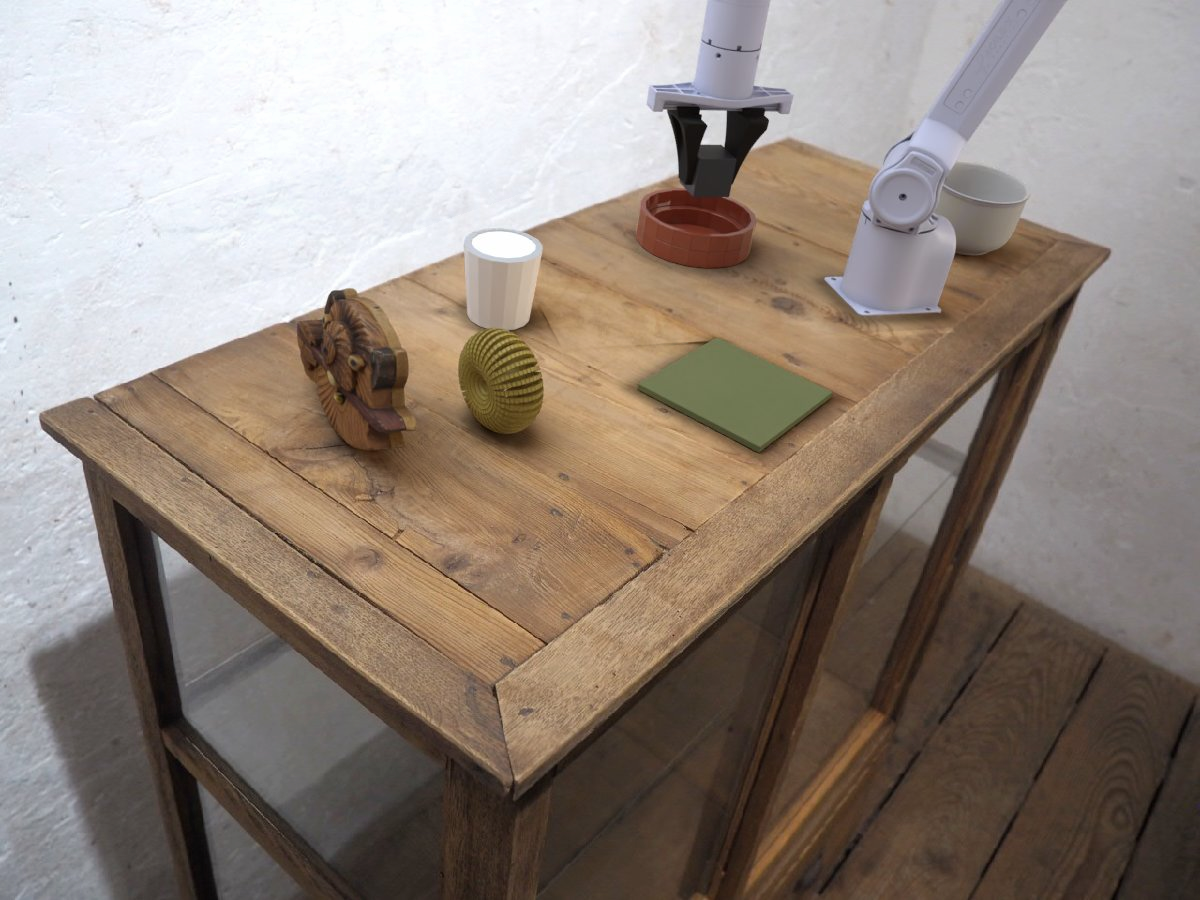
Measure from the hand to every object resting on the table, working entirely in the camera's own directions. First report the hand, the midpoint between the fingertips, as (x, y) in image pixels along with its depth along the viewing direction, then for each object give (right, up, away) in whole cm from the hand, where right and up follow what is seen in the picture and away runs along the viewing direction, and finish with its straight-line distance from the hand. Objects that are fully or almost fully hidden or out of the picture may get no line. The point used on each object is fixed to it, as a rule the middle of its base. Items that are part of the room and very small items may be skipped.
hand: (705, 181), depth 107 cm
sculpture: (-19, -26, -26) cm, 41 cm away
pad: (+1, -23, -18) cm, 29 cm away
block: (0, -1, +1) cm, 1 cm away
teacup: (+29, -3, +15) cm, 33 cm away
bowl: (-1, -6, +5) cm, 8 cm away
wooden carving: (-29, -26, -29) cm, 48 cm away
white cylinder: (-20, -15, -12) cm, 28 cm away
